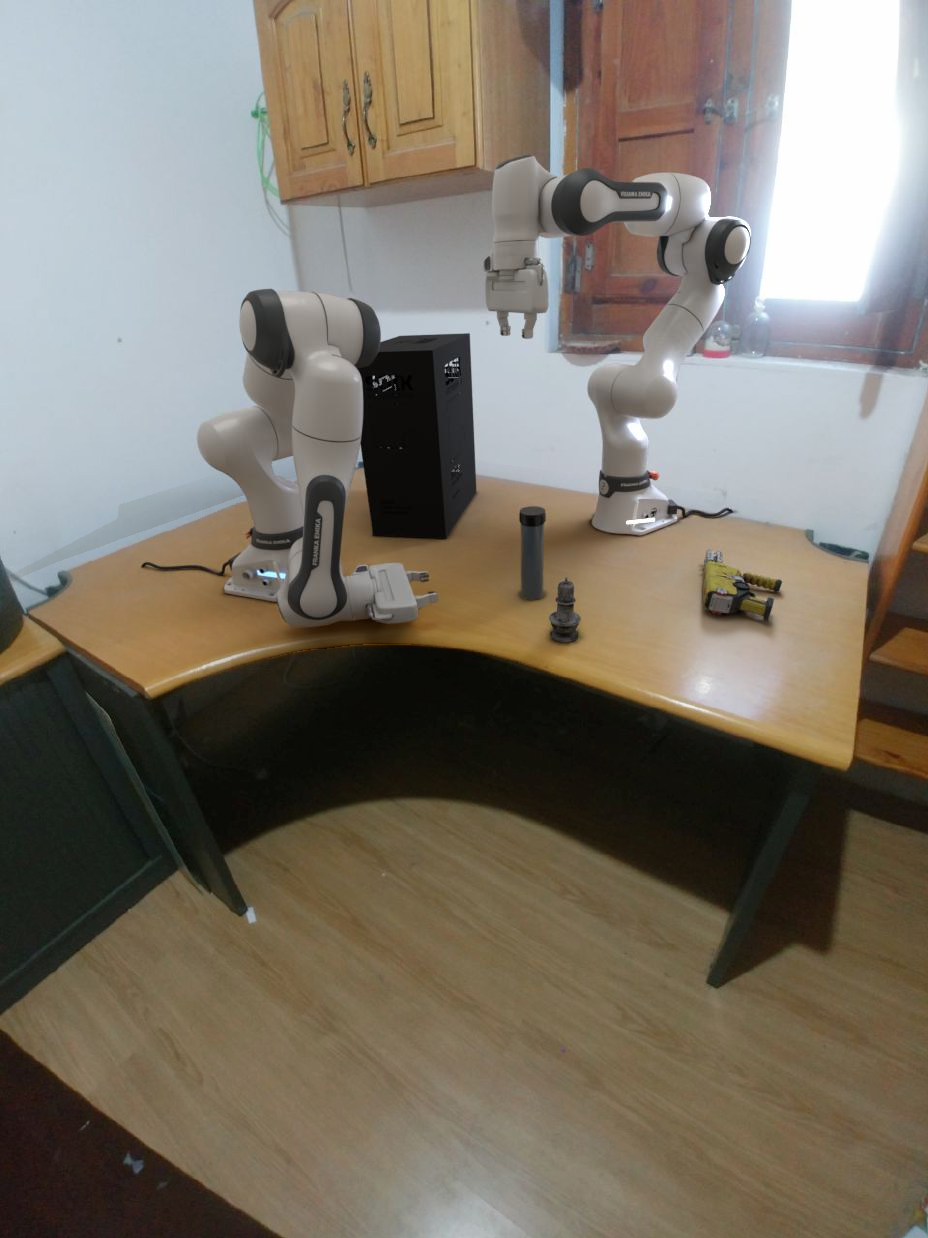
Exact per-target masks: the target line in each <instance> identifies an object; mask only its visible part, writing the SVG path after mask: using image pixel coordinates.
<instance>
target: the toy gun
mask: <svg viewBox="0 0 928 1238" xmlns="http://www.w3.org/2000/svg"><path fill="white" fill-rule="evenodd" d="M782 584H783V581H782V579H777V578H771V577H769V576H766V577H765V576H764V575H758V574H757V573H754V574H752V573H751V572H749V571H746V572H745V573H743V574H742V572H741V571H740V569H739V568H736V567H731V566H729V565H726V564H725V563H724V560H723V552H722V551H721V550H718V549H717V550H716V552H714V549H711V548H709V549H707V550H706V552H705V556H704V559H703V572H702V593H703V594H702V596H703V597H702V601H703V602H702V604H703V608H704V610H708V611H711V613H712V614H717V615H722V613H724V614H734V613H736V612H738V611H744V612H748V613H751V614H755V615H758V616H760V617H763V621H765V622H768V621H769V618H770V615H771V612H772V609H773V606H774V602H775V598H772V597H771V596H768V597H767V599H766V600H764V599H761V598H757V597H756V595H755V593H754V592H752V591H751V586H756V587H758V588H761V587H762V588H763V589H766V590H767V589H769V590H770V591H774V593H775V592H776V593H777V592H780V589H781V587H782Z"/></svg>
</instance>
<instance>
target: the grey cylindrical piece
mask: <svg viewBox="0 0 928 1238" xmlns="http://www.w3.org/2000/svg"><path fill="white" fill-rule="evenodd" d="M544 562H545V523H544V524H542V525H538V526H526V525H523V524H521V523H520V597H521V598H523V599H525V600H530V601H531V600H533V601H534V600H539V599H542V598H543V596H544V574H545V573H544V571H545V569H544V567H545V566H544V564H545V563H544Z"/></svg>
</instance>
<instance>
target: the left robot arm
mask: <svg viewBox="0 0 928 1238" xmlns="http://www.w3.org/2000/svg"><path fill="white" fill-rule="evenodd" d="M238 326H239V327H238V328H239V333H240V336H241V340H242V344H243V347H244V349H245V351H246V352H247V353H246V357H245V362H244V367H243V374H242V385H243V389H244V391H245V393H246V394H247V396H248V397H249V399H250V400H251V401H252V402H253V403H254V404H255V405H254V406H253V405H252V406H250V407H246V408H240V409H235V410H230V411H226V412H222V413H219V414H217V415H215V416H213V417H210V418H209V419H206V420H204V421H202V422H201V423H200V425H199V427H198V430H197V433H196V434H197V436H196V440H197V441H196V444H197V448H198V451H199V454H200V455H201V457H202V459H203V460H204V461H205V462H206V463H207V465H209V466H210V467H211V468H213V469H215V471H216V470H217V471H218V472H221V473H222V474H225V475H227V476H228V477H229V478H231V479H232V480H233V481H234V482H235V483H236V484H237V485H238V486H239V488H240V489H241V491H242V493H243V494H244V496H245V499H246V501H247V504H248V508H249V511H250V515H251V518H252V522H253V526H252V527H251V528H249V531H247V532H246V533H245V534H244V536H246V537H245V540H248V539H249V538H251V540H250V543H249V544H248V545H247V546H246V547H245V548H244V549H243V550H242V551H240V552H239V553H237V554H235V555H233V556H232V557H230V558H229V559H227V561H226V562H224V563H223V564H222V566H221V571H220V572H219V571H218V572H216V571H215V570H212V569H210V568H208V567H206V566H203V565H197V564H185V565H173V566H171V565H170V566H162V565H161V566H160V565H158V564H155V563H153V562H149V561H145V562H143V563H142V564H141V566H140V568H145V567H146V566H150V567H152V568H155V569H158V570H164V571H167V570H168V571H169V570H184V569H200V570H202V571H205V572H208V573H210V574H212V575H216V576H222V575H224V574H225V573H226V568H227V567H228V566H229V569H230V572H231V577H230V578H228V580H227V581H226V582H225V584H224V587H223V588H224V593H225V594H229V595H234V596H240V597H244V598H249V599H257V600H262V601H268V602H274V603H275V602H276V603H277V606H278V609H279V614H280V616H281V618H282V620H283V621H284V623H286V624H287V625H288V626H290V627H292V628H300V629H301V628H316V627H323V626H329V625H333V624H335V623H337V622H338V623H339V622H341V621H342V622H343V621H346V622H354V621H360V620H366V619H370V620H373V621H376V622H380V623H381V624H401V623H411V622H415V621H416V620H418V619H419V609H423V608H425V607H426V606H428V605H430V604H434V603H438V602H439V594H438V592H437V591H436V590H432V591H427V593H426V594H424V595H415V594H414V592H413V591H414V590H413V589H412V586H411V584H410V583H413V582H420V583H428V582H429V581H430V574H429V572H428V571H427V570H425V571H424V570H423V571H416V570H405V567H404V564H403V563H401V562H385V563H377V564H371V565H370V566H369V565H368V564H359V565H357V566H356V568H355V570H354V571H353V572H352V574H351V575H347V576H344V573H343V567H342V566H343V565H342V559H341V553H342V552H341V551H342V543H343V542H342V540H343V531H344V520H345V514H346V508H347V505H348V499H349V495H350V491H351V486H352V482H353V478H354V474H355V472H356V466H357V463H358V458H359V453H360V450H361V445H360V443H361V436H362V426H363V387H362V378H361V375H360V373H359V371H358V370H357V369H358V368H363V367H366V366H368V365H370V364H371V363H372V362H373V361H374V359H375V357H376V356H377V354H378V351H379V347H380V342H382V341H381V339H382V333H381V331H382V330H381V324H380V321H379V318H378V317H377V314H376V312H375V310H374V309H373V307H372V306H370V305H369V304H367V303H365V302H364V301H361V300H358V299H355V298H354V297H353V298H352V297H348V298H345V297H342V296H338V295H334V294H329V293H325V292H318V291H302V290H301V291H300V290H298V291H297V290H275V289H273V288H261V289H256V290H252V291H249V292H248V293H247V294H246V296H245V297H244V298H243V299H242V302H241V305H240V311H239V320H238ZM290 457H292V458H293V464H294V470H295V474H296V480H297V483H296V482H294V481H293V480H292V479H290V478H287V477H283V476H279V475H277V474H276V473H275V471H274V467H273V462H276V461H280V460H282V459H286V458H290Z"/></svg>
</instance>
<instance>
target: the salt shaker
mask: <svg viewBox="0 0 928 1238" xmlns="http://www.w3.org/2000/svg"><path fill="white" fill-rule="evenodd" d="M576 601H577V600H576V597H575V584H574V583H573V582H572V581H570V580H569V578H568V576H565V577H564V580H562V581H560V582H559V583H558V584H557V597H555V603H556V611H552V612H551V613H550V615H549V616H548V621H549V623H550V626H551V627H552V629H551V631H550V633H549V636H550V638H551V639H553V640H554V641H556V642H560V643H569V642H574V641H576V640H577V639H578V638H579V636H580V635H579V632H578V631H577V629H578V627H579V624H580V623H581V621H582V617H581V615H580V614H579V613H577V612H575V610H574V609H575V608H574V607H575V603H576Z"/></svg>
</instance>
